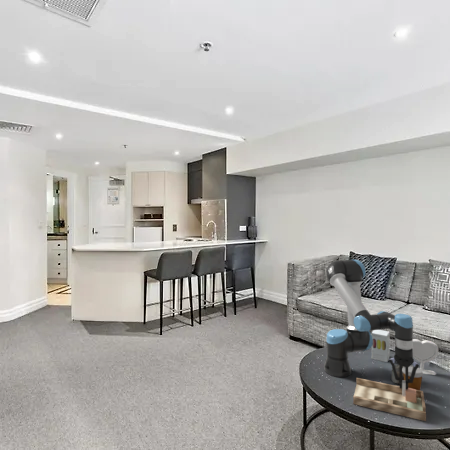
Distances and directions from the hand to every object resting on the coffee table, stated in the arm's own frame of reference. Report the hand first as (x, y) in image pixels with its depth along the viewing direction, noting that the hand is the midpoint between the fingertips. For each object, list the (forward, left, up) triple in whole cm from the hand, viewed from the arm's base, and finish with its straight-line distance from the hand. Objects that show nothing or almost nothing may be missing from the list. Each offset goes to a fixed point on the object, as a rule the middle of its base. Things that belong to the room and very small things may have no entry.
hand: (403, 394), depth 155 cm
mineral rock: (+1, +23, -4) cm, 23 cm away
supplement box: (-12, +49, -4) cm, 50 cm away
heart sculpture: (+10, +40, -4) cm, 41 cm away
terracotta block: (+3, 0, -2) cm, 3 cm away
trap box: (-7, -3, -4) cm, 9 cm away
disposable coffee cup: (+4, +13, -4) cm, 14 cm away
